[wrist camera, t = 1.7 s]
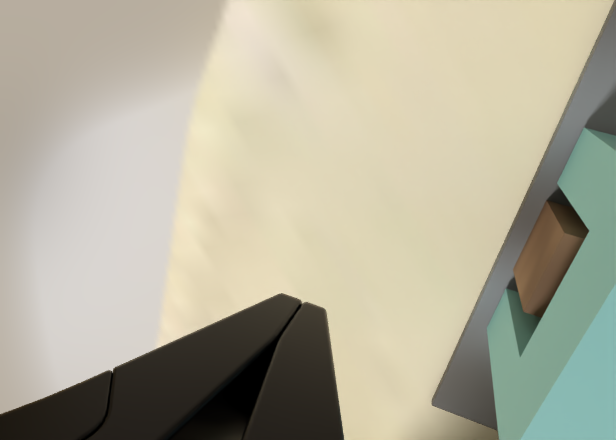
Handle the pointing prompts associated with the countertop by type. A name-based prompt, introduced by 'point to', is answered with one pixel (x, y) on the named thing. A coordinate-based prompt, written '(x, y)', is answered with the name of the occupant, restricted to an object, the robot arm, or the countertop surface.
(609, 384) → the block
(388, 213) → the countertop surface
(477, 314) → the rail track
